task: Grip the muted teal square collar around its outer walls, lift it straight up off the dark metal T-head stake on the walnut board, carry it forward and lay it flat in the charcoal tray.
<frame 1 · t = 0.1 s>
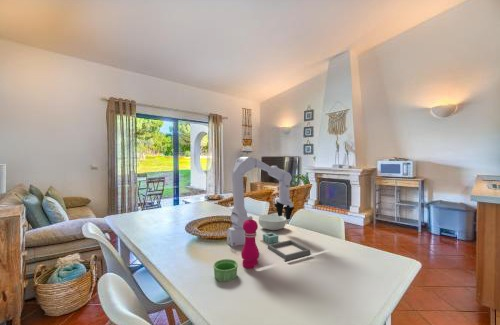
hand: (284, 217, 128), 10 cm above the table, tool pointing down, fingers open, 7 cm apart
pepper mill: (250, 265, 94), on the table
stake board: (270, 243, 116), on the table
cereal bowl: (272, 229, 140), on the table
tray: (288, 252, 105), on the table
ramekin: (225, 276, 85), on the table
collar: (270, 241, 116), point 1 cm above the table, touching stake board
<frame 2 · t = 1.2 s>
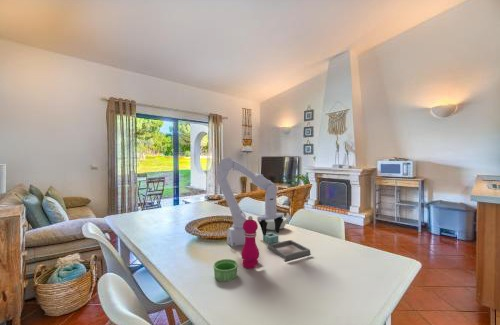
hand: (270, 233, 116), 5 cm above the table, tool pointing down, fingers open, 7 cm apart
nothing on the table moved.
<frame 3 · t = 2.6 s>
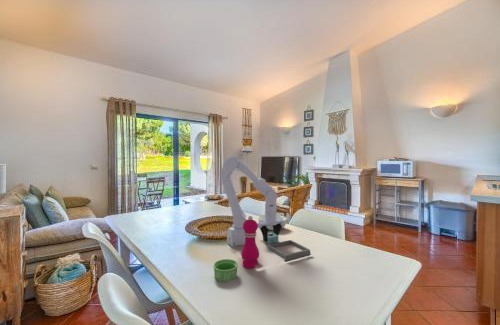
hand: (270, 239, 116), 2 cm above the table, tool pointing down, fingers closed on collar, 6 cm apart
collar: (270, 241, 116), point 1 cm above the table, touching gripper, stake board
everything else where it was.
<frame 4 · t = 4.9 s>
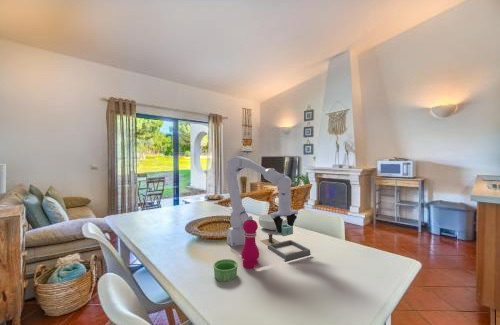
hand: (284, 231, 108), 9 cm above the table, tool pointing down, fingers closed on collar, 6 cm apart
collar: (284, 233, 108), point 8 cm above the table, touching gripper
everything else where it was.
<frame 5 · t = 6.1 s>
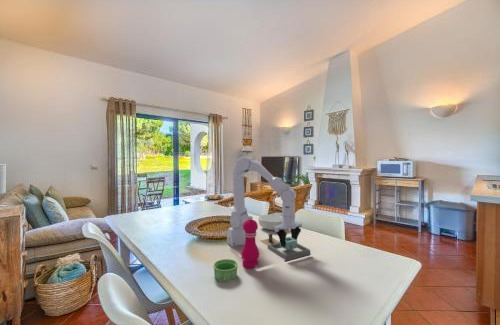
hand: (288, 244, 105), 4 cm above the table, tool pointing down, fingers closed on collar, 6 cm apart
collar: (288, 246, 105), point 3 cm above the table, touching gripper
everything else where it was.
when the fingers open (3 cm above the table, at t = 7.2 s): collar drops 1 cm, resting on tray.
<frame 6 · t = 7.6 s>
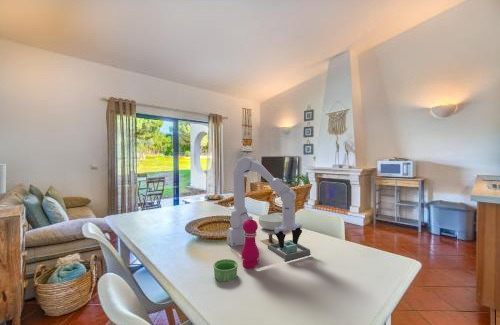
hand: (288, 246, 105), 3 cm above the table, tool pointing down, fingers open, 7 cm apart
collar: (288, 251, 105), point 1 cm above the table, touching tray
everything else where it was.
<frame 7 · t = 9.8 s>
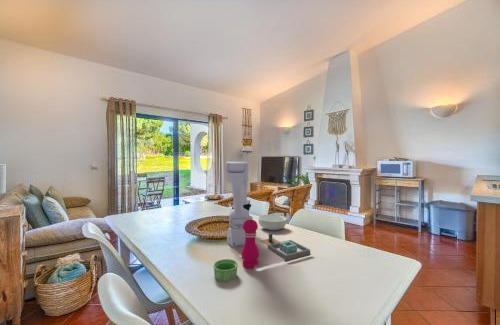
hand: (241, 218, 129), 9 cm above the table, tool pointing down, fingers open, 7 cm apart
nothing on the table moved.
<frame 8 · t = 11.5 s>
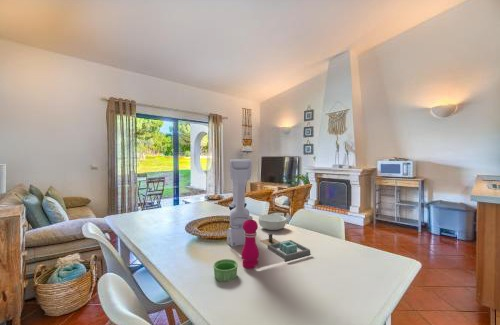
hand: (238, 217, 131), 9 cm above the table, tool pointing down, fingers open, 7 cm apart
nothing on the table moved.
at the end: collar inside the target area on the tray (0.1 cm from its centre), point 0.6 cm above the tray's base; collar tilted 0°; the gripper is holding nothing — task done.
